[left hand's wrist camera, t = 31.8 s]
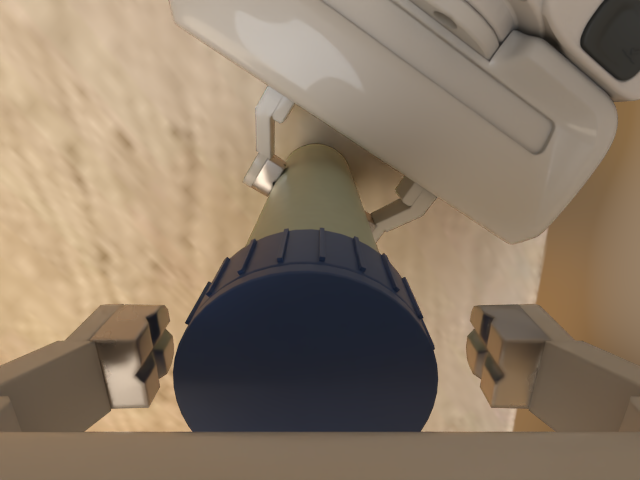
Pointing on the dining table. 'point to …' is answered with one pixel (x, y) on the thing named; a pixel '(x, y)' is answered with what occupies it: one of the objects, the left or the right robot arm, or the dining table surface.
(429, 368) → the lid
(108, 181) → the dining table surface
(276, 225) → the green bottle
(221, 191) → the dining table surface
